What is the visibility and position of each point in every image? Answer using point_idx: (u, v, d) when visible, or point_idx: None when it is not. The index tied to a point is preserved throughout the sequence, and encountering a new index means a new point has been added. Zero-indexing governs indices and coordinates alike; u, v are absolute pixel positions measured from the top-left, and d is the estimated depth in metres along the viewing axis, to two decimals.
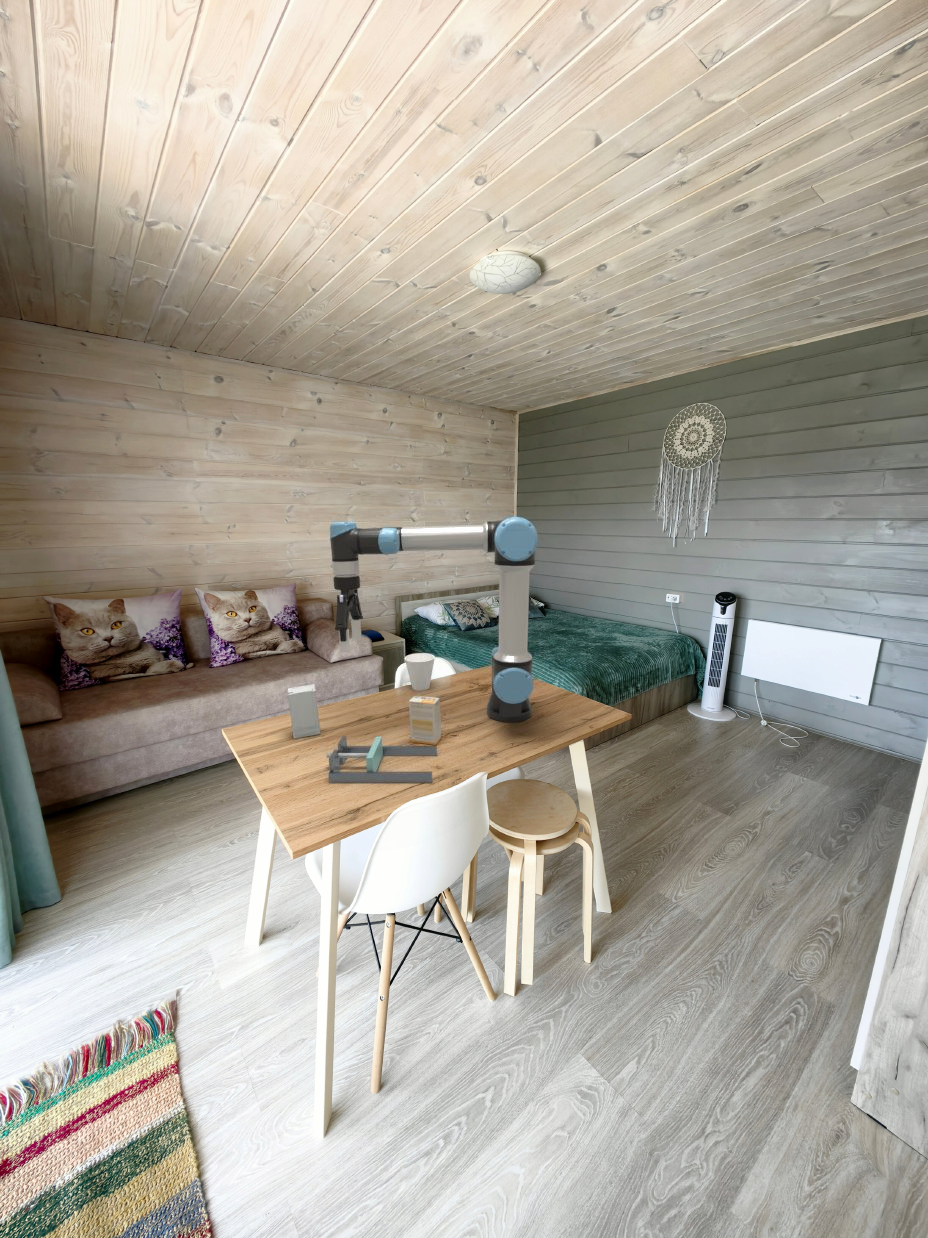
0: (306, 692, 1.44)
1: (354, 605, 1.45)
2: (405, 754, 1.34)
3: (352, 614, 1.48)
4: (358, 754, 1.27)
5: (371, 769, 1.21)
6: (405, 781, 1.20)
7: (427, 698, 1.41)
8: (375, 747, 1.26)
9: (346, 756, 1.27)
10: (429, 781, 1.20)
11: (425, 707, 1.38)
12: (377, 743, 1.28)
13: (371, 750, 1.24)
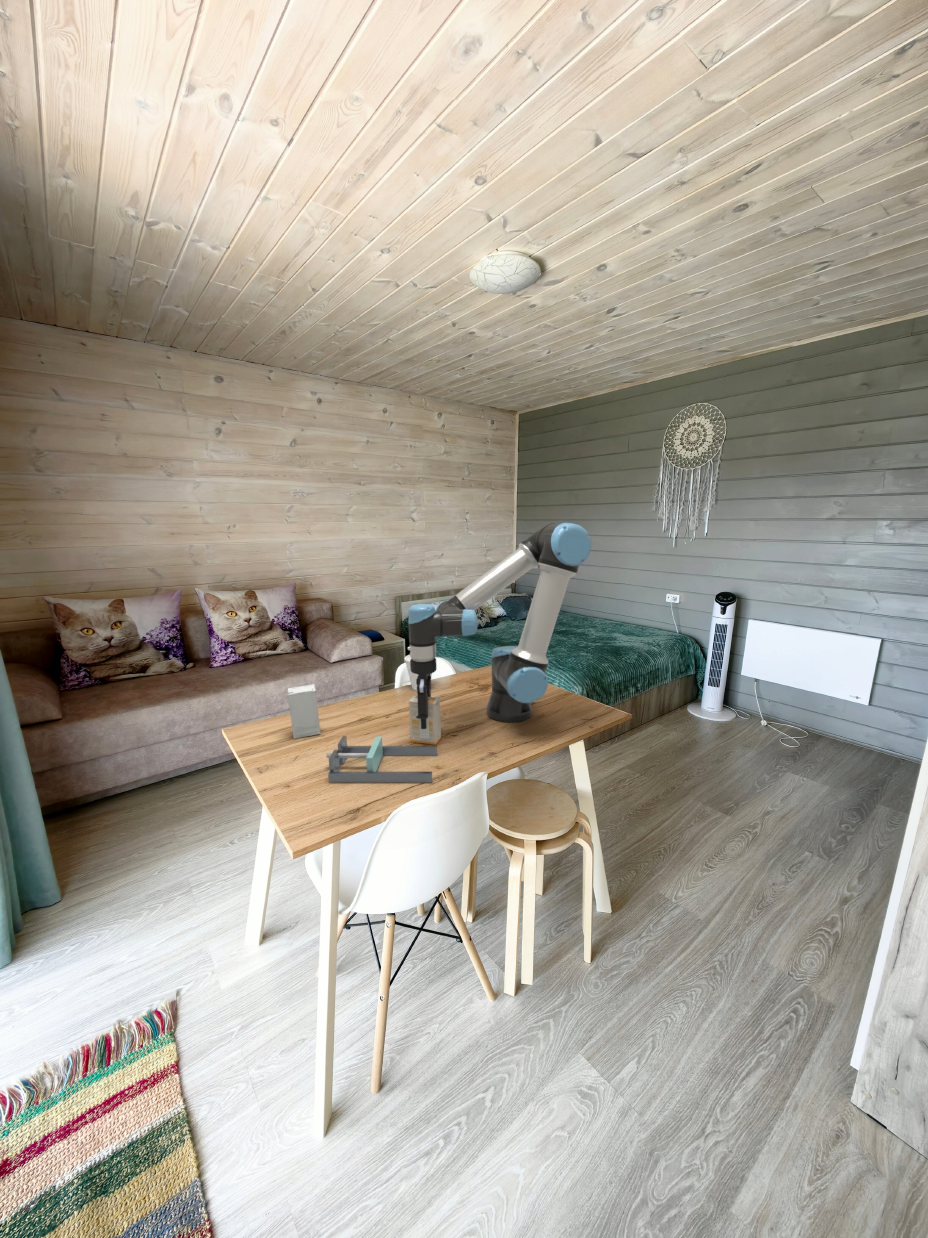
0: (306, 692, 1.44)
1: None
2: (405, 754, 1.34)
3: None
4: (358, 754, 1.27)
5: (371, 769, 1.21)
6: (405, 781, 1.20)
7: None
8: (375, 747, 1.26)
9: (346, 756, 1.27)
10: (429, 781, 1.20)
11: None
12: (377, 743, 1.28)
13: (371, 750, 1.24)
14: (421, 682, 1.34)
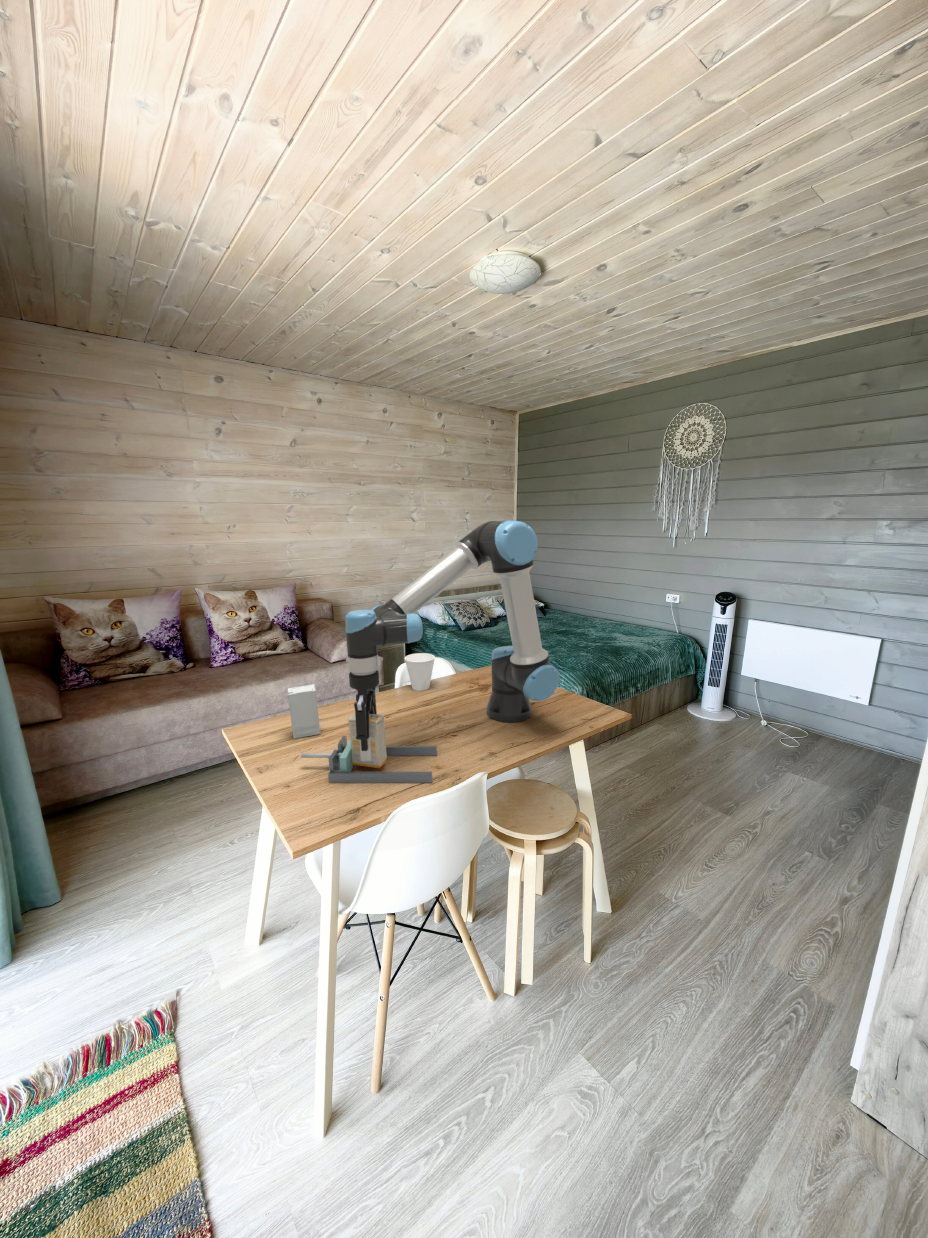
0: (306, 692, 1.44)
1: (371, 705, 1.26)
2: (405, 754, 1.34)
3: None
4: None
5: (344, 769, 1.21)
6: (405, 781, 1.20)
7: (369, 716, 1.25)
8: (350, 747, 1.26)
9: (321, 756, 1.27)
10: (429, 781, 1.20)
11: None
12: None
13: (345, 750, 1.25)
14: (360, 698, 1.19)
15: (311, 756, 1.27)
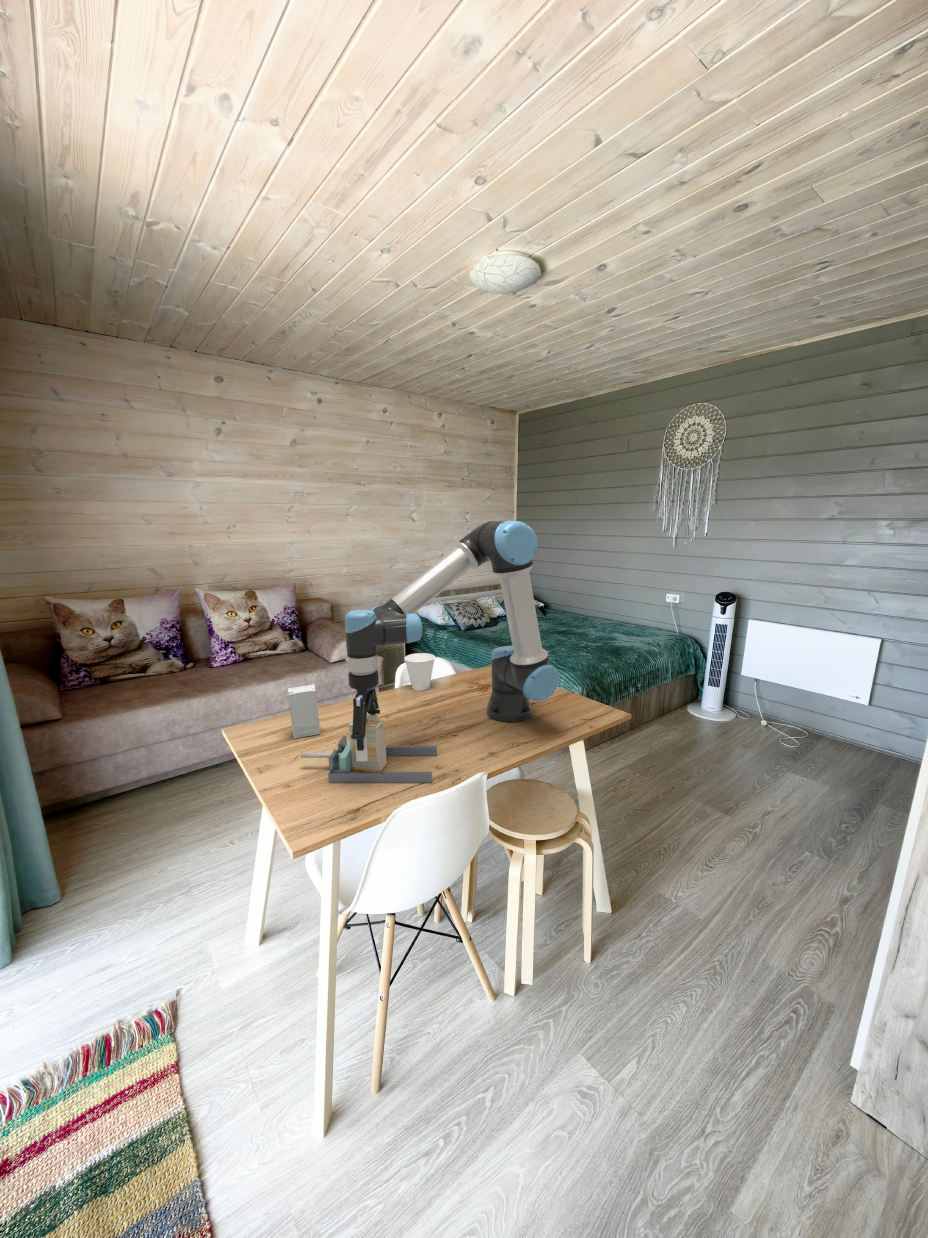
0: (306, 692, 1.44)
1: (371, 701, 1.27)
2: (405, 754, 1.34)
3: (368, 709, 1.30)
4: None
5: (344, 769, 1.21)
6: (405, 781, 1.20)
7: (370, 720, 1.26)
8: (349, 747, 1.26)
9: (320, 756, 1.27)
10: (429, 781, 1.20)
11: (367, 731, 1.23)
12: None
13: (345, 750, 1.25)
14: (359, 696, 1.19)
15: (311, 756, 1.27)
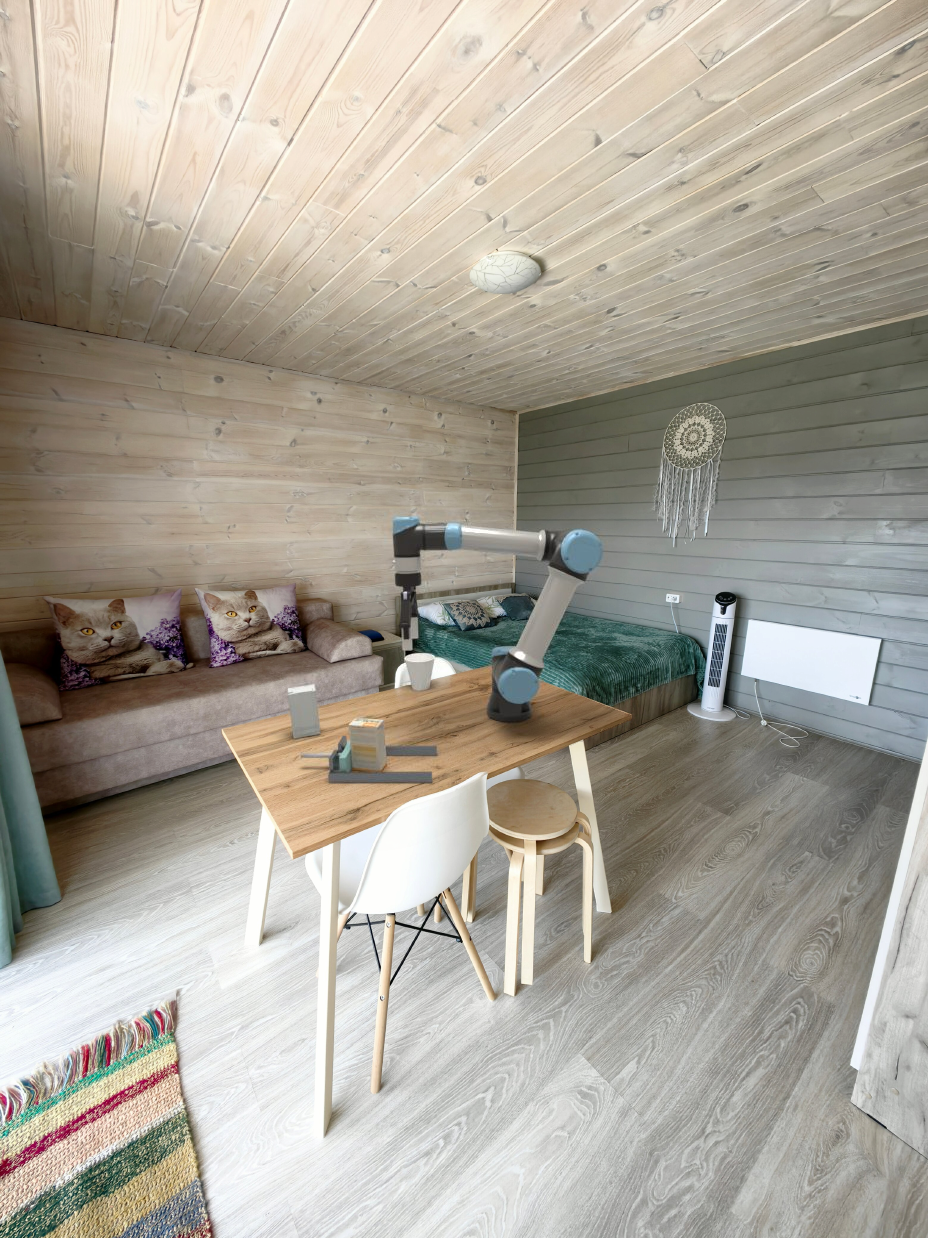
0: (306, 691, 1.44)
1: (413, 602, 1.42)
2: (405, 754, 1.34)
3: (410, 612, 1.45)
4: None
5: (344, 769, 1.21)
6: (405, 781, 1.20)
7: (369, 720, 1.26)
8: (349, 747, 1.26)
9: (320, 756, 1.27)
10: (429, 781, 1.20)
11: (367, 731, 1.23)
12: None
13: (345, 750, 1.25)
14: (405, 592, 1.33)
15: (311, 756, 1.27)
